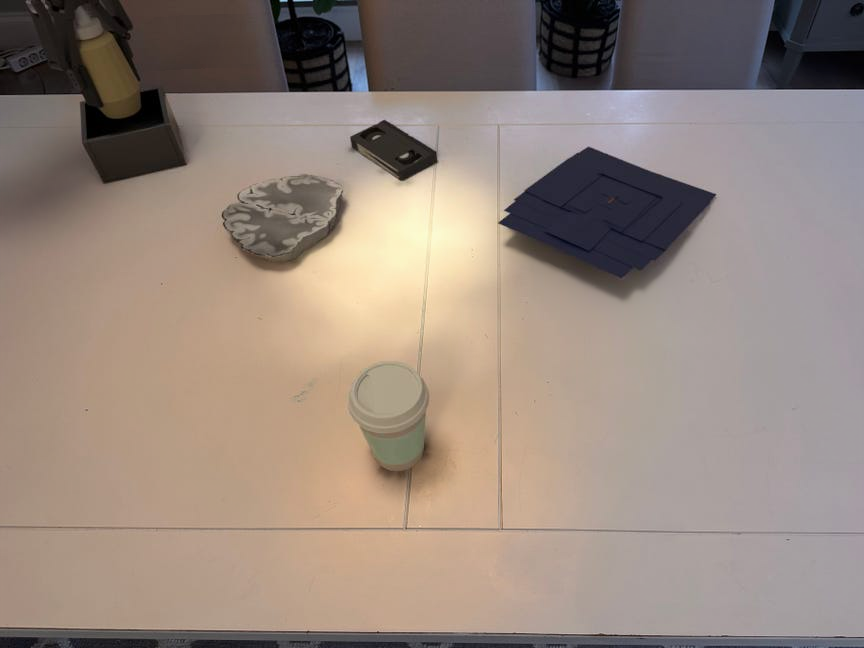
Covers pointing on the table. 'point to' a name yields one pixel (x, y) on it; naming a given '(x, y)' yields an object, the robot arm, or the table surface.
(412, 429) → the coffee cup
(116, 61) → the squeeze bottle
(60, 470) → the table surface
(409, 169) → the vhs tape
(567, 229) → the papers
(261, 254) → the brain slice
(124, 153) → the box
